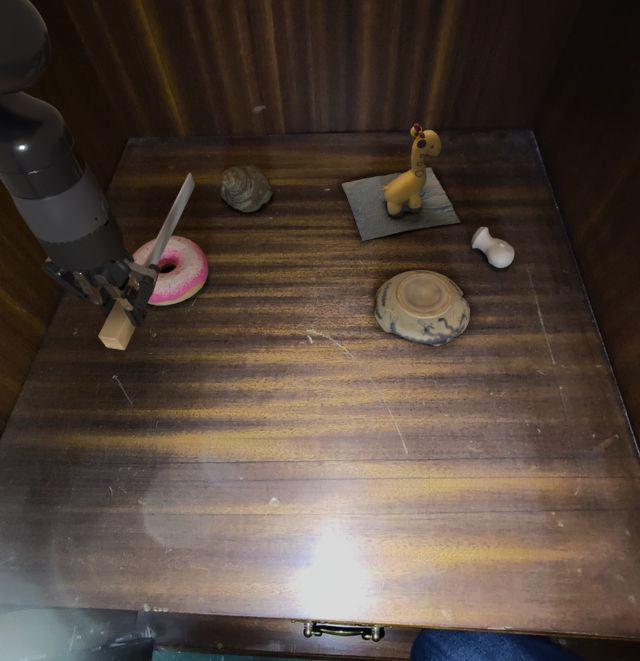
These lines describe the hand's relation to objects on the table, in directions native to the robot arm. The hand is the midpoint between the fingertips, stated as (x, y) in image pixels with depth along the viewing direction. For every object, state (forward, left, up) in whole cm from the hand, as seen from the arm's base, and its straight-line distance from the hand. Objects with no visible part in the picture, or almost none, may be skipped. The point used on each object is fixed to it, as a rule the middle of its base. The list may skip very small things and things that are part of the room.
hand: (129, 319), depth 64 cm
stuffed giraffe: (+53, -2, -15) cm, 55 cm away
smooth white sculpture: (+53, -22, -15) cm, 59 cm away
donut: (+13, +15, -15) cm, 25 cm away
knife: (+9, +6, 0) cm, 10 cm away
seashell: (+37, +20, -15) cm, 44 cm away
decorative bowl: (+36, -20, -15) cm, 44 cm away
